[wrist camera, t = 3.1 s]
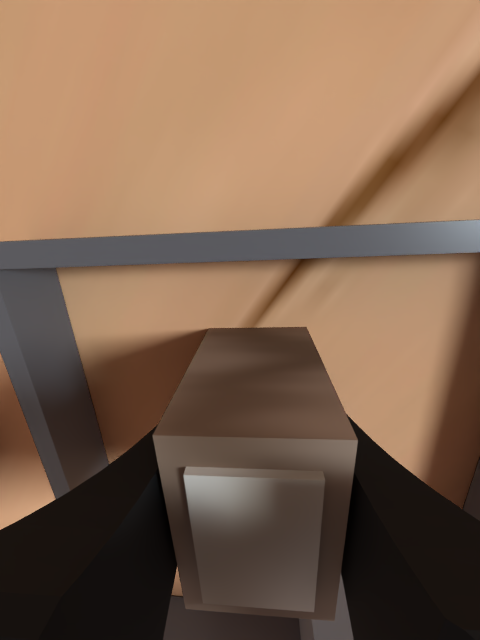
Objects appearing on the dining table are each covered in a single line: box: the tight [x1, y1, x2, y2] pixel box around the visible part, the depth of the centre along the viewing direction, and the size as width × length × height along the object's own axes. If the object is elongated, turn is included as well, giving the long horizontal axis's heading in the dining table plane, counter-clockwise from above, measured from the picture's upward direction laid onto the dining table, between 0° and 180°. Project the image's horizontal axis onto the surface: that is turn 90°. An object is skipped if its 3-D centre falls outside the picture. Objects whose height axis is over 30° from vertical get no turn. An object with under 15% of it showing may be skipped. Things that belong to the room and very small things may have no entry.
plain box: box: [299, 574, 354, 640], centre depth 12 cm, size 4×6×6 cm, turn 3°
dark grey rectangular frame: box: [0, 220, 480, 640], centre depth 12 cm, size 20×24×2 cm
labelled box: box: [152, 327, 358, 621], centre depth 9 cm, size 4×6×6 cm, turn 2°
